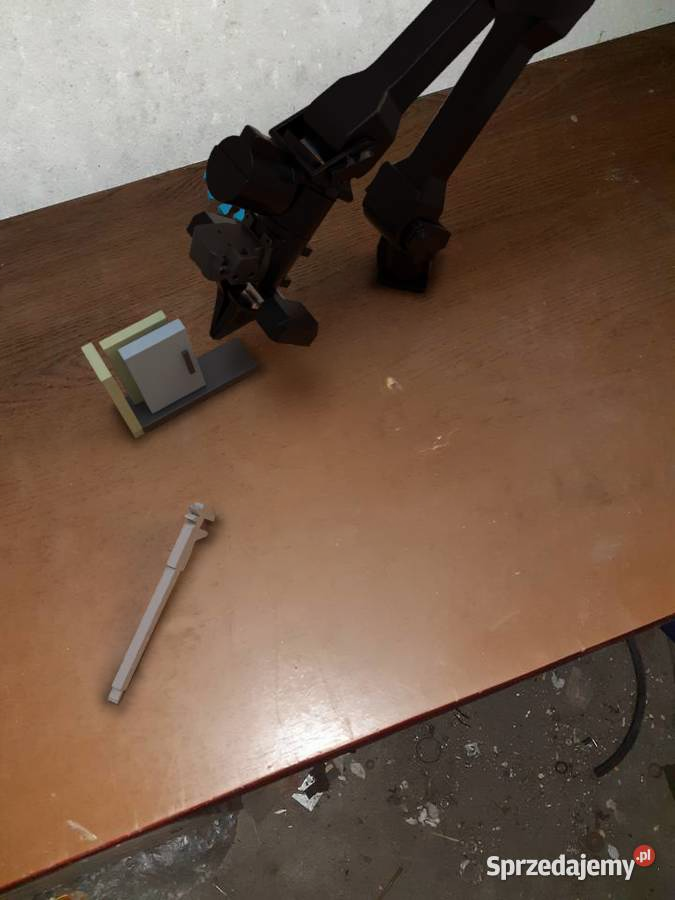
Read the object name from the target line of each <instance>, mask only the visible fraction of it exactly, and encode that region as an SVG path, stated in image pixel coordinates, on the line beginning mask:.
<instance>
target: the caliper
mask: <svg viewBox="0 0 675 900" xmlns="http://www.w3.org/2000/svg"><path fill="white" fill-rule="evenodd" d="M188 510H189V512H188V513H186V514H185V515H184V516H183V518H185V519H187V521H186V522H184V524H183V526H182V528H181V530H180V532H179V534H178V537H177V540H176V542H175V544H174V546H173V549H172V550H171V552H170V554H169V557H168V559H167V561H166V564H165V566H166V567H165V569H164V571H163V573H162V576H161V578H160V580H159V582H158V584H157V586H156V589H155V591H154V593H153V595H152V597H151V600H150V602H149V604H148V606H147V608H146V610H145V613H144V615H143V617H142V619H141V620H140V624H139V625H138V627H137V630H136V632H135V633H134V636H133V638H132V641H131V642H130V645H129V647H128V649H127V651H126V654H125V656H124V658H123V659H122V662H121V664H120V667H119V668H118V670H117V673H116V675H115V678H114V680H113V682H112V684H111V687H112V688H111V691H110V692H109V695H108V698H107V700H108V701H110V702H112V703H114V704H116V705H118V704H119V702H120V701H121V697H122V695H123V694H124V691H126V690H127V689H128V687H129V685H130V682H131V680H132V678H133V676H134V674H135V671H136V669H137V667H138V665H139V662H140V660H141V658H142V656H143V653H144V652H145V649H146V647H147V645H148V642H149V640H150V639H151V636H152V635H153V632H154V629H155V627H156V625H157V623H158V621H159V619H160V616H161V614H162V612H163V610H164V608H165V605H166V603H167V602H168V599H169V597H170V595H171V592H172V591H173V588H174V585H175V583H176V581H177V579H178V577H179V575H180V573H181V572H184V571H185V568H186V565H187V563H188V561H189V559H190V557H191V555H192V551H193V548H194V544H195V543H196V541H198V540H201V539H204V538H206V537H208V535H209V532H208V531H206V530H205V529H203V528H201V526H202V524H203V522H204V520H208V521H210V522H213V523H214V522H215V520H216V518H215V517H216V516H215V514H214V512H213V510H212V508H211V506H209V505H206V504H203V503H200V502H198V501H194V503H193V505H192V504H188Z"/></svg>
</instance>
